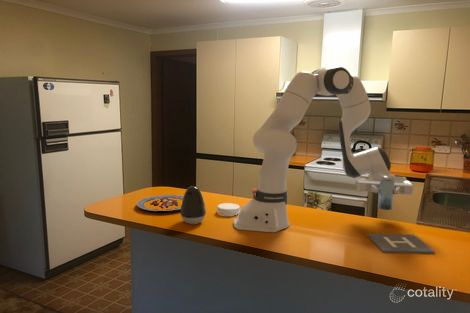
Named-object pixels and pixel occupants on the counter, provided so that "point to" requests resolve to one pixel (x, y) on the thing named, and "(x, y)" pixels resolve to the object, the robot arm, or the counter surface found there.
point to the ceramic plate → (163, 199)
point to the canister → (386, 192)
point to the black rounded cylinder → (193, 206)
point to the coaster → (228, 209)
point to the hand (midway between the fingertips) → (386, 191)
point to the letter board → (400, 243)
